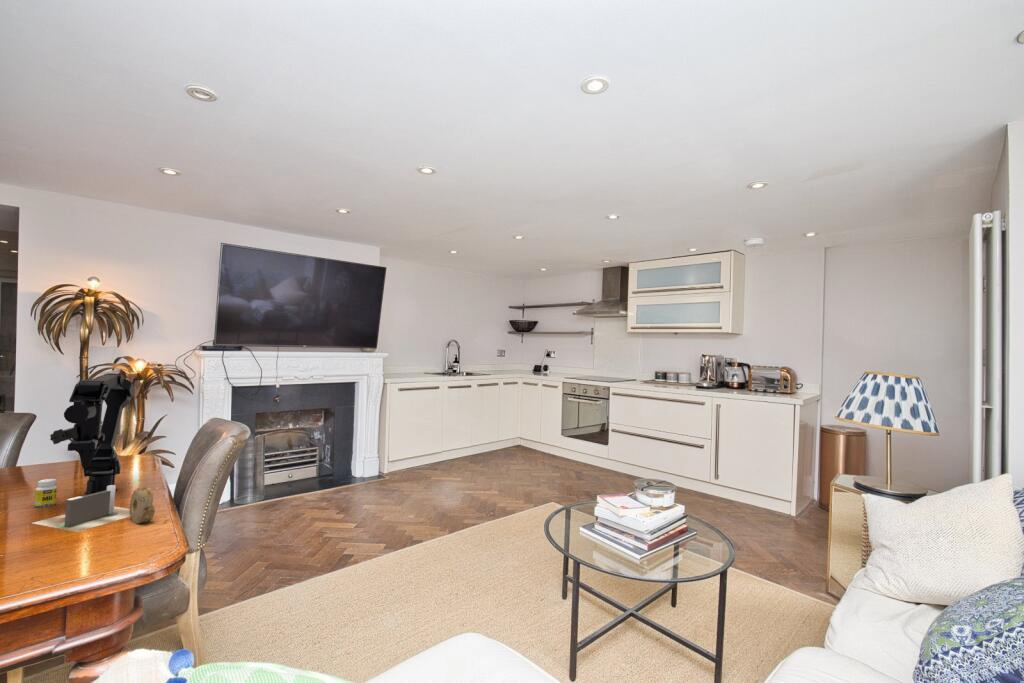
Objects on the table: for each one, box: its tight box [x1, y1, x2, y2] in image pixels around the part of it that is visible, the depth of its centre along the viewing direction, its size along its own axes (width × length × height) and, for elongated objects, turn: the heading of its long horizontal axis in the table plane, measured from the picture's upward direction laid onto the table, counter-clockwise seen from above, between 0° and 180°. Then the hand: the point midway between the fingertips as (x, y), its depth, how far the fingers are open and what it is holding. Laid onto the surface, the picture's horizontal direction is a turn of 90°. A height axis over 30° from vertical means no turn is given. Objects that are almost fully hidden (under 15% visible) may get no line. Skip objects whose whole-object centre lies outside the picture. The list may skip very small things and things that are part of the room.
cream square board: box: [32, 506, 131, 533], centre depth 135 cm, size 18×18×1 cm
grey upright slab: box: [64, 484, 117, 527], centre depth 132 cm, size 12×2×8 cm, turn 168°
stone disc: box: [128, 486, 156, 524], centre depth 134 cm, size 10×4×10 cm, turn 57°
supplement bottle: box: [33, 478, 58, 509], centre depth 142 cm, size 5×5×8 cm
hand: (85, 468), depth 146 cm, fingers closed
